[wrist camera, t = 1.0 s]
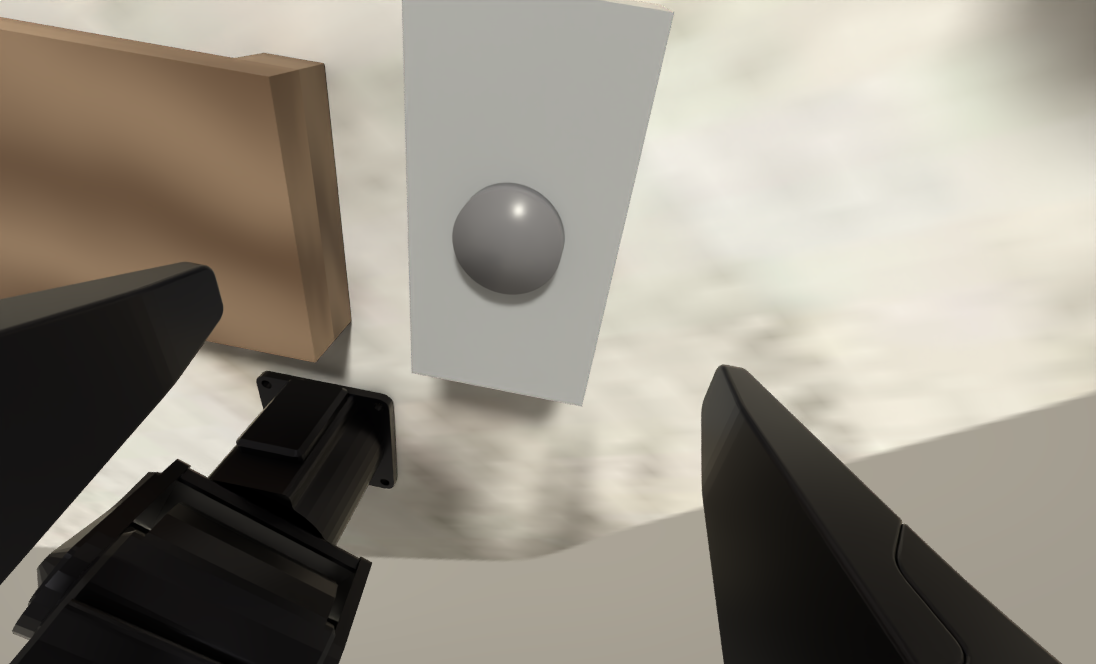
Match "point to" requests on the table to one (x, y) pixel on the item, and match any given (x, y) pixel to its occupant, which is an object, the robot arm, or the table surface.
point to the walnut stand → (173, 178)
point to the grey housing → (521, 180)
